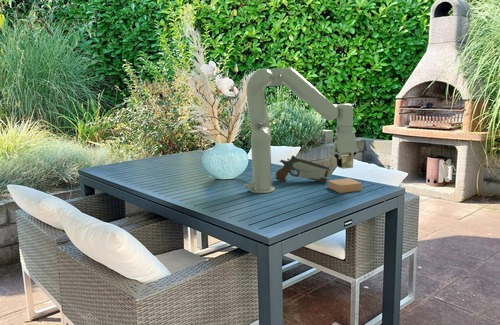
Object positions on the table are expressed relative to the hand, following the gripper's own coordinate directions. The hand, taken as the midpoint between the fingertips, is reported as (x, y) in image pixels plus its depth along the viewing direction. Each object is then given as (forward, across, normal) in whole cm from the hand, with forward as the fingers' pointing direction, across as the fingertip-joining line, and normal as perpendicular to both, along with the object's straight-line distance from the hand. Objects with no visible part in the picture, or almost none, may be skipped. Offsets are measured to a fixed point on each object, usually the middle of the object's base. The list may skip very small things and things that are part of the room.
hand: (345, 165), depth 210 cm
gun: (+12, -12, +24) cm, 29 cm away
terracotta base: (+12, 0, 0) cm, 12 cm away
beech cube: (+1, 0, 0) cm, 1 cm away
